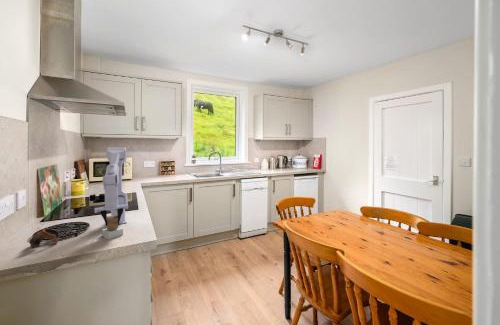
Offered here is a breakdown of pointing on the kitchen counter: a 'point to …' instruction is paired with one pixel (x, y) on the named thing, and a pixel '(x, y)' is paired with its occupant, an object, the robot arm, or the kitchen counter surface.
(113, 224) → the walnut block
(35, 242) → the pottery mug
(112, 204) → the robot arm
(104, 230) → the base block
